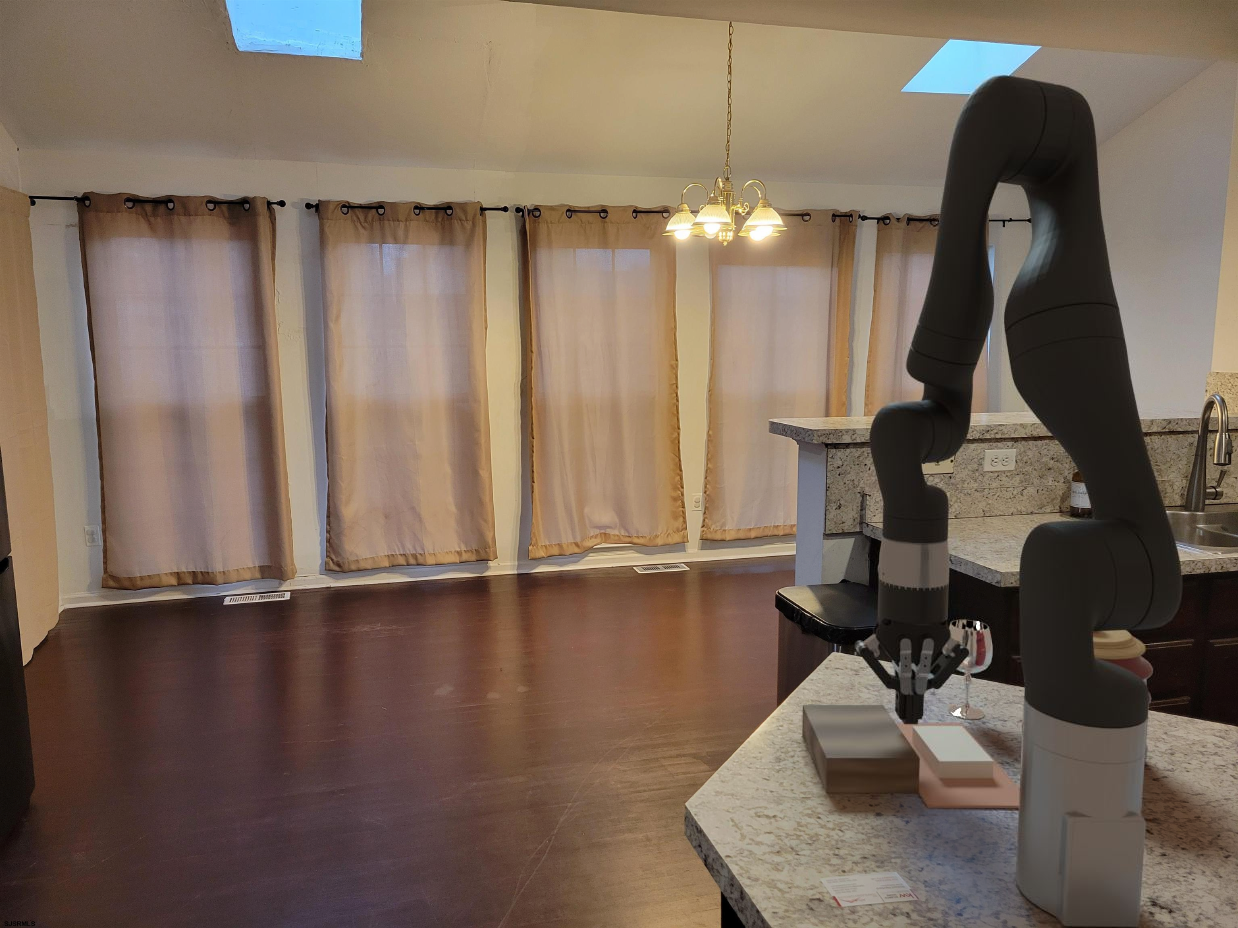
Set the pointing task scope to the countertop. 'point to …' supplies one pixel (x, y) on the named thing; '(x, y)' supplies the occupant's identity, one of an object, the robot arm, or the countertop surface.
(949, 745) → the pale grey rectangular block
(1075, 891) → the robot arm
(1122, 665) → the canister
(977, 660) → the wineglass
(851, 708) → the block
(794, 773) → the countertop surface
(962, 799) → the mat
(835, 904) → the countertop surface
